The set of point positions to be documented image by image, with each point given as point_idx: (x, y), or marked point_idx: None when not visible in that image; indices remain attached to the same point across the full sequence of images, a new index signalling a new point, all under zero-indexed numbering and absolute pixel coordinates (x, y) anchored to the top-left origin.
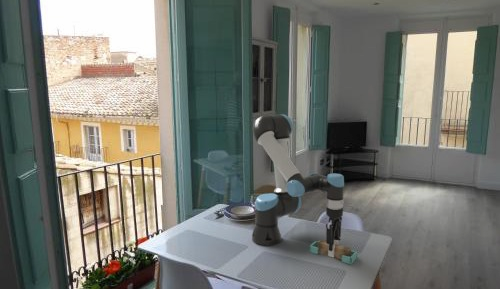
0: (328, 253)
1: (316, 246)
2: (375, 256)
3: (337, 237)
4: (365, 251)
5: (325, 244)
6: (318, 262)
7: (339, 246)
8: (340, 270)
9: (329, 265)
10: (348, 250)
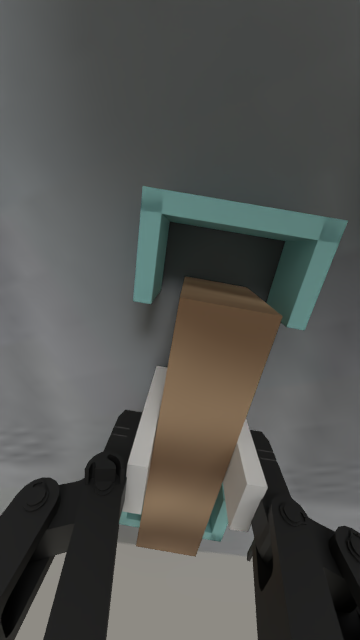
0: (152, 379)
1: (279, 239)
2: None
3: (256, 585)
4: (319, 515)
5: (168, 392)
6: (42, 325)
7: (189, 498)
8: (41, 444)
9: (52, 391)
10: (150, 547)
